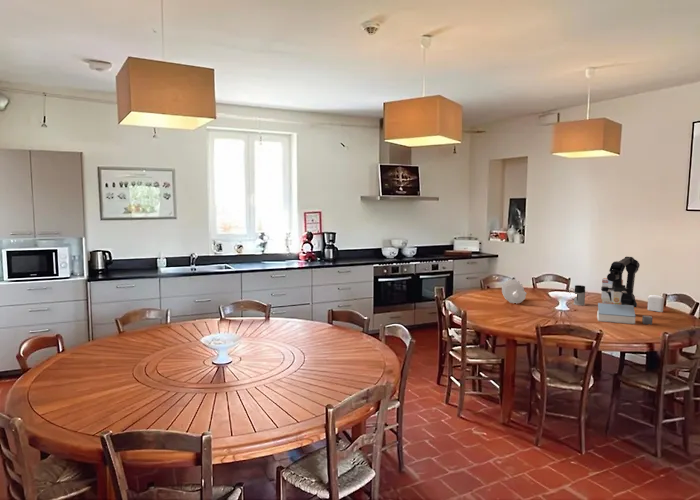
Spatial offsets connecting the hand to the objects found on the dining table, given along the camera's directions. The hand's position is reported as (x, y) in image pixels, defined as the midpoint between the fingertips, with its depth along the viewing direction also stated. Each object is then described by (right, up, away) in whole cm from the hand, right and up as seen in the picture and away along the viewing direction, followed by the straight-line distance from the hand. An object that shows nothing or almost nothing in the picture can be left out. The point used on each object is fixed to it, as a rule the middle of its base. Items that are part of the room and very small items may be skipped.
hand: (615, 301), depth 323 cm
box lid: (-1, -6, -3) cm, 7 cm away
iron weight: (+16, -14, -9) cm, 23 cm away
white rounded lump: (-51, -7, +61) cm, 80 cm away
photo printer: (+45, -10, +26) cm, 53 cm away
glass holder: (-4, -8, +49) cm, 50 cm away
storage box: (-1, -13, -1) cm, 13 cm away
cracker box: (+24, -8, +48) cm, 55 cm away
